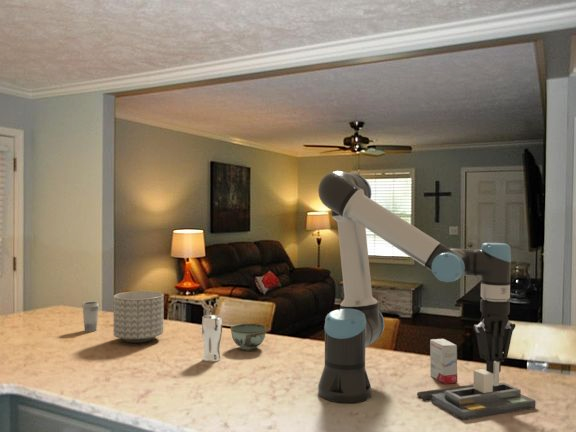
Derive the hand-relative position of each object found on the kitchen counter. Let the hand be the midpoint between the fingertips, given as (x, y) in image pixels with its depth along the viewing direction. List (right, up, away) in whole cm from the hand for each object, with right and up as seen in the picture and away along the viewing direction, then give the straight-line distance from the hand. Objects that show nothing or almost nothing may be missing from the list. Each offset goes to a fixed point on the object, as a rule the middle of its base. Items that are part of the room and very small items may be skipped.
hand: (493, 384), depth 142 cm
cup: (-141, -3, +77) cm, 161 cm away
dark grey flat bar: (-7, -5, +7) cm, 11 cm away
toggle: (-3, -3, -1) cm, 5 cm away
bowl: (-72, -4, +52) cm, 89 cm away
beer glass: (-83, -4, +38) cm, 92 cm away
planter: (-116, -3, +62) cm, 132 cm away
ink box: (-8, -5, +19) cm, 22 cm away
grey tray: (-3, -5, -1) cm, 6 cm away
